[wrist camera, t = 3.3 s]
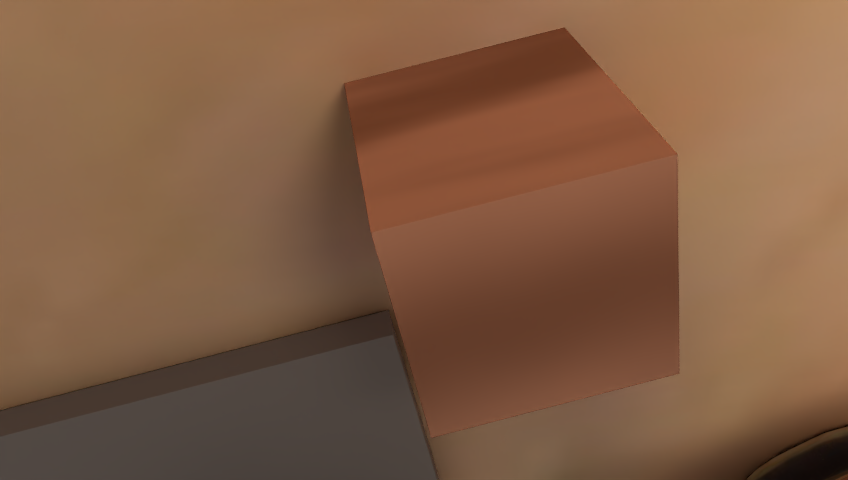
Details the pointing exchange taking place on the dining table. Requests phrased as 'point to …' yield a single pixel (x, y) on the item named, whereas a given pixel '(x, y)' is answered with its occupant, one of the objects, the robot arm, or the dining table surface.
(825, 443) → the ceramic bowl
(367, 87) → the terracotta block
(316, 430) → the base board
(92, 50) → the dining table surface
